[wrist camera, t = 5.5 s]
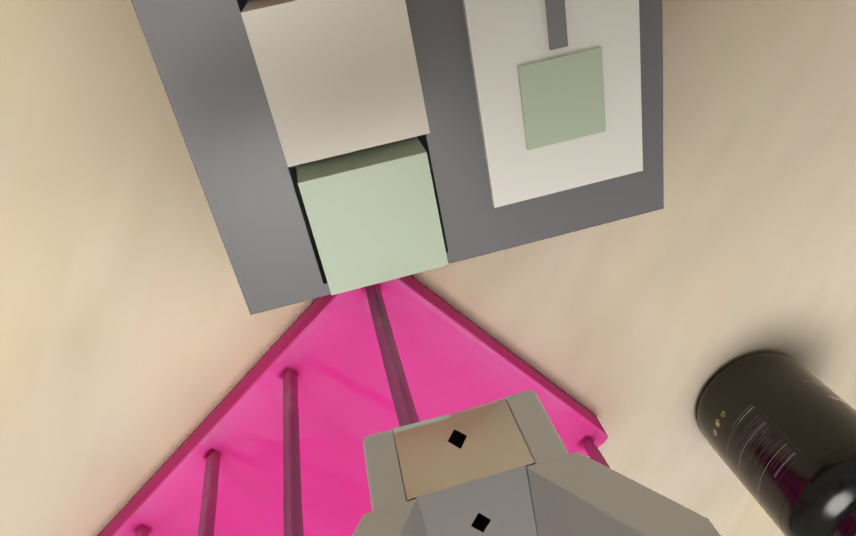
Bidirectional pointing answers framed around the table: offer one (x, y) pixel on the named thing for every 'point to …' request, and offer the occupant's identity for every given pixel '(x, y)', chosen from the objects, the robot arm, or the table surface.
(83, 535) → the table surface
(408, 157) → the key sage
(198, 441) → the file sorter
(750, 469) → the supplement bottle
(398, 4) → the block
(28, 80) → the table surface
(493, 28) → the keypad base
